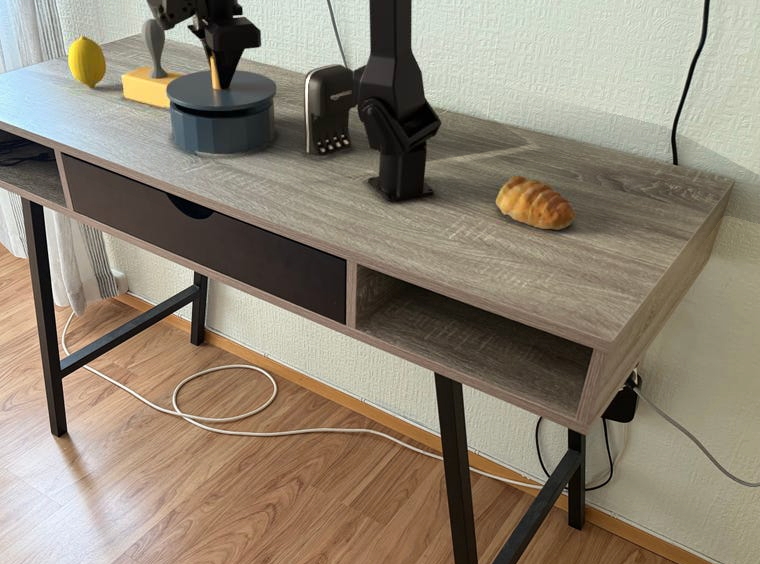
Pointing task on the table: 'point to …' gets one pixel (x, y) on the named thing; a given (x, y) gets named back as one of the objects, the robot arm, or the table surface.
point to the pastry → (534, 204)
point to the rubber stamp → (150, 71)
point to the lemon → (87, 61)
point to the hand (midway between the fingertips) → (221, 85)
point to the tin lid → (220, 90)
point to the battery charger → (328, 109)
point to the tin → (222, 129)
